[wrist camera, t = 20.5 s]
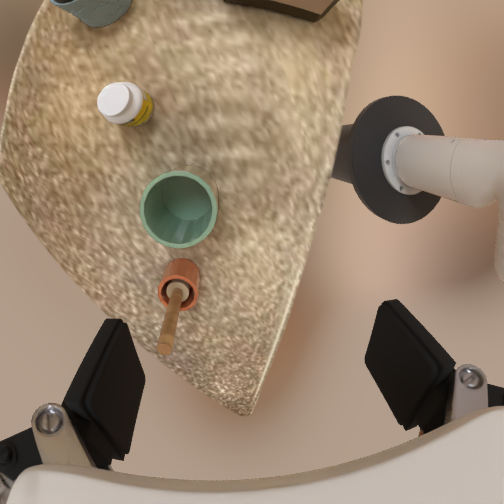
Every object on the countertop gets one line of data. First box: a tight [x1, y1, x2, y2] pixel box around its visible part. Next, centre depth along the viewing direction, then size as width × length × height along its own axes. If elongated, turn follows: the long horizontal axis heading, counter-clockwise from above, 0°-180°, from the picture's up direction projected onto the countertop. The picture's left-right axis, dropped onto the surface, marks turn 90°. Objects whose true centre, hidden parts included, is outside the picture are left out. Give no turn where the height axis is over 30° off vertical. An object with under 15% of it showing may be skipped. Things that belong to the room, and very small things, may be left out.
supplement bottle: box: [97, 82, 154, 127], centre depth 27 cm, size 5×5×10 cm
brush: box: [157, 279, 190, 355], centre depth 33 cm, size 3×3×17 cm
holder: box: [158, 258, 200, 311], centre depth 39 cm, size 6×6×6 cm
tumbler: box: [140, 165, 218, 248], centre depth 32 cm, size 8×8×11 cm
